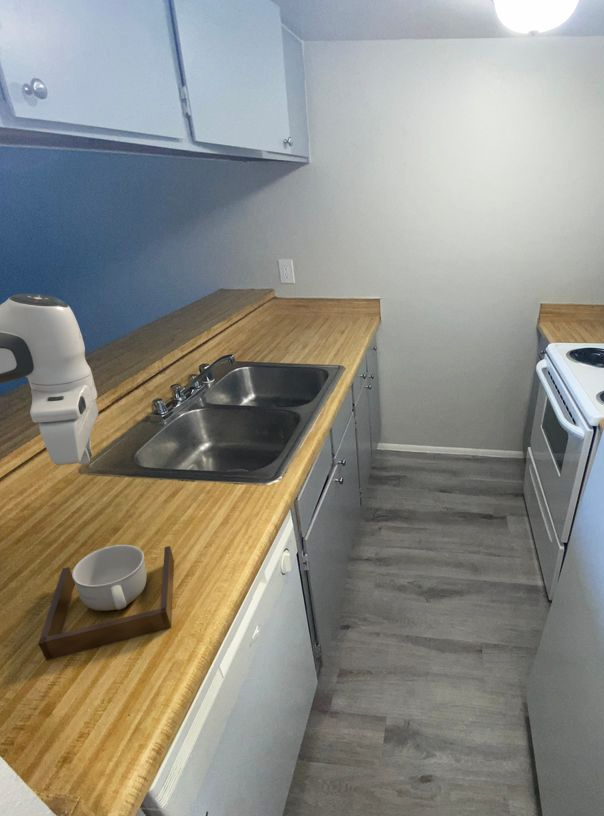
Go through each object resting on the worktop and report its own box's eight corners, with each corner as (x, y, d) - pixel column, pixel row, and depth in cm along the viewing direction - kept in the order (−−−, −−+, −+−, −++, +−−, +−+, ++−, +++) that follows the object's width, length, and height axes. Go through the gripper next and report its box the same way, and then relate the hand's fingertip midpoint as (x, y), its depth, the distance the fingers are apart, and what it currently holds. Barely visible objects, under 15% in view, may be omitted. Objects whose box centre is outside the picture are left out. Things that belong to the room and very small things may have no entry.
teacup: (87, 584, 88) (75, 552, 85) (151, 567, 93) (142, 535, 89) (80, 643, 77) (66, 608, 74) (153, 620, 82) (143, 586, 78)
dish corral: (46, 660, 74) (38, 643, 73) (68, 583, 88) (62, 568, 86) (171, 627, 81) (166, 611, 79) (174, 561, 95) (170, 545, 93)
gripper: (57, 371, 88) (77, 436, 94) (26, 418, 71) (52, 493, 78) (96, 368, 90) (113, 432, 97) (75, 414, 74) (96, 487, 80)
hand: (86, 460), depth 87 cm, fingers closed
